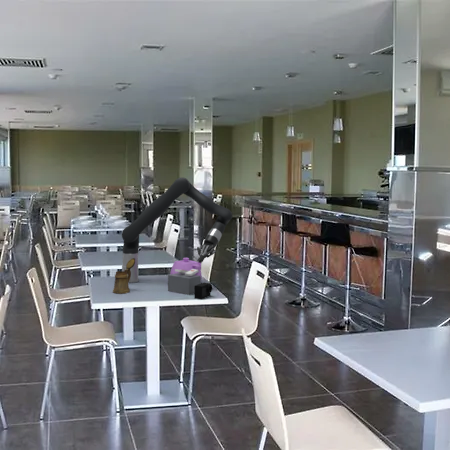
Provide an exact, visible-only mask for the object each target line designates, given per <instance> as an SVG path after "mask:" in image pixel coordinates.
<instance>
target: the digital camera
mask: <svg viewBox="0 0 450 450" xmlns="http://www.w3.org/2000/svg"><path fill="white" fill-rule="evenodd" d="M212 291H213V285H212V284H211V283H210V282H201V284H198V285H195V287H194V294H193V295H194V296H193V297H194V298H193V299H197V300H203V299H206V298H208V297H211V293H212ZM205 297H206V298H205Z"/></svg>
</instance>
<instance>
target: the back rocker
mask: <svg viewBox="0 0 450 450" xmlns="http://www.w3.org/2000/svg"><path fill="white" fill-rule="evenodd" d="M175 271H177V272H178V273H183V274H184V273H186V272H188V271H186V270H179V269H175Z"/></svg>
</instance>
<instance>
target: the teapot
mask: <svg viewBox="0 0 450 450" xmlns="http://www.w3.org/2000/svg"><path fill="white" fill-rule="evenodd" d="M175 269H179V270H186V271H190V270H192V269H196V270H198V271H199V272H197V273H196V274H195V275H198V276H201V279H203V277H202V263H199V262H198V261H195V260H191V259H190V258H189V257H183V258H182V260H175V261H174V262H173V264H172V267H171V270H170V273H169V275H171V274H176V273H178V272H177V271H175Z"/></svg>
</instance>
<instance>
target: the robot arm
mask: <svg viewBox="0 0 450 450" xmlns="http://www.w3.org/2000/svg"><path fill="white" fill-rule="evenodd" d="M182 195H185V196H187V197H189V198H190V199H192V200H193V201H194V202H195V203H197V205H199V207H201V208H202V209H203V210H204V211H206V212H208V213H209V214H211V215H216V216H218V217H216V219H215V221H214V223H213V226H212V227H211V229H210V230H209V231H208V233H207V234H206V237H205V238H204V240H203V244H202V245H200V246H196V251H197V254H198V256H199V257H198V258H197V262H199V263H201V264H202V263H203V262H204V260H205V259H206V258H210V257H211V256H213V255H214V254H216V253H217V251H216V249H215V248H216V247H217V245H218V244H219V242H220V240H221V238H222V236H223V234H224V233H225V229H226V227H227V225H228V224H229V222H230V221H231V220H232V219H233V213H232V211H231V210H230V209H229V208H227V207H225V206H222V205H220V204H218V203H217V202H215V201H214V200H213V199H212V198H210V197H208V196H207V195H206V194H204V193H203V192H201V191H200V190H198V189H197V188H196V187H195V186H194V185H193V184H192V183H191V182H190V181H189V180H188V179H187V178H186V177H178V178H176V179H175V180H174V182H173V183H172V184H171V185H170V186H169V188H168V189H166V190H165V191H164V193H162V194H160V195H159V196H158V197H157V198H156V199H155V200H153V201H152V202H151V203H150V204H149V205H148V206H147V207H146V208H145V209H144V210H143V211H142V212H141V213H140V214H139V216H138V217H137V218H136V219H135V220H133V222H132V223H130V224H129V225H128V226H126V227H125V228H123V230H122V231H121V238H122V240H123V246H122V265H121V271H125V270H126V265H127V262H128V261H129V260H131V259H132V258H135V265H134V266H133V267H132V268H131V269H130V271H131V277H130V280H129V283H130V284H131V283H132V284H133V283H137V282H139V248H140V234H142V232H144V230H145V229H146V228H147V227H149V226H150V225H152V224H153V223H155V222H156V221H157V220H158V219H159V218H161V216H162V215H163V214H165V213H166V211H167V210H169V208H170V207H171V205H172V204H173V203H174V201H176V200H177V199H178V198H179V197H181V196H182ZM127 275H128V274H127ZM127 278H128V277H127ZM129 283H128V284H129Z"/></svg>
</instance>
